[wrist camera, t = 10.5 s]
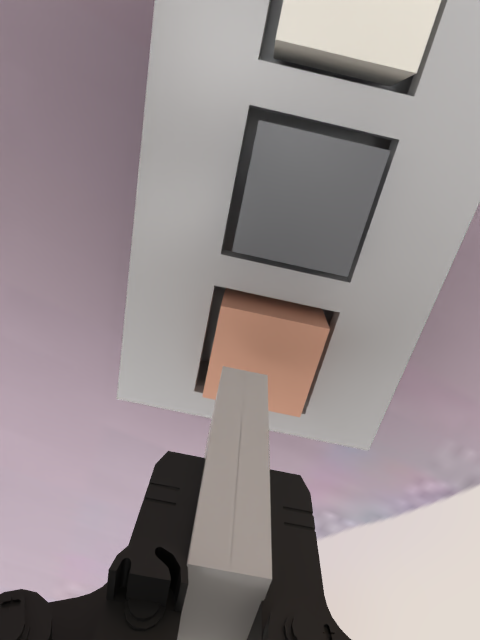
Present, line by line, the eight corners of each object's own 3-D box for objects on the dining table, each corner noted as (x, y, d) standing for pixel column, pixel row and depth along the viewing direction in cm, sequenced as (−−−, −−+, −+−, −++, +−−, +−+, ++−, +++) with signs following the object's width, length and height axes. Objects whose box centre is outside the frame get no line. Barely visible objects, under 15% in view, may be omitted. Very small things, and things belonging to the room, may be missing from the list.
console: (204, -153, 16) (180, -276, 11) (533, -68, 16) (639, -154, 12) (142, 354, 25) (116, 399, 21) (349, 397, 26) (368, 450, 21)
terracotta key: (226, 284, 20) (220, 305, 17) (320, 304, 20) (330, 329, 17) (209, 366, 22) (202, 397, 19) (295, 384, 22) (300, 417, 19)
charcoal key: (259, 124, 17) (258, 120, 14) (370, 150, 17) (390, 150, 14) (236, 236, 19) (231, 251, 16) (335, 258, 19) (347, 277, 16)
